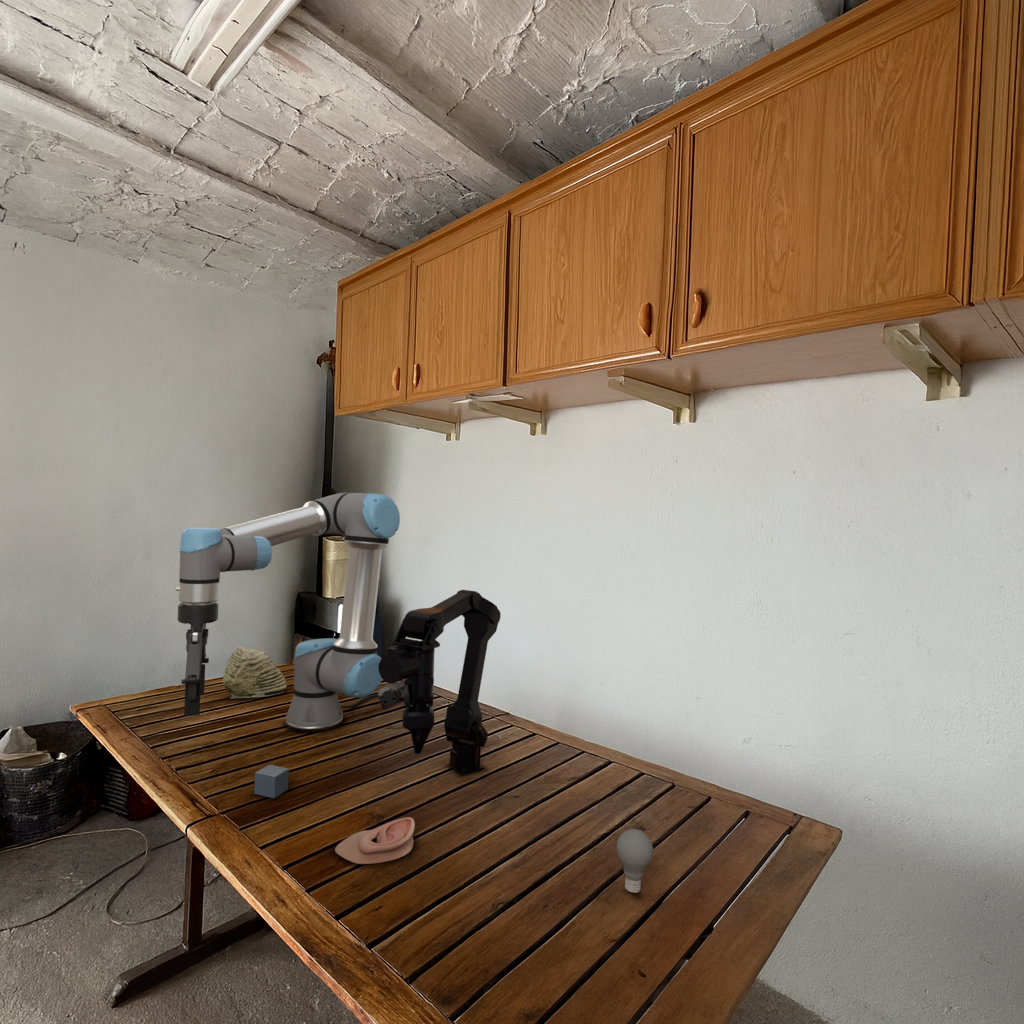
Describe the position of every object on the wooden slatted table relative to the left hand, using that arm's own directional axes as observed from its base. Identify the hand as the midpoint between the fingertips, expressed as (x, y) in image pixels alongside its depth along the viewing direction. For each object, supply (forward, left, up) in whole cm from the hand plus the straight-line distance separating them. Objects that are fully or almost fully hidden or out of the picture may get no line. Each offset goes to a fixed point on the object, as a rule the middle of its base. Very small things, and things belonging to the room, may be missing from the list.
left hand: (194, 704), depth 131 cm
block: (-12, +10, -19) cm, 25 cm away
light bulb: (-34, +84, -19) cm, 93 cm away
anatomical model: (-13, +43, -19) cm, 49 cm away
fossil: (-43, -52, -19) cm, 70 cm away
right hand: (-31, +35, -7) cm, 47 cm away
